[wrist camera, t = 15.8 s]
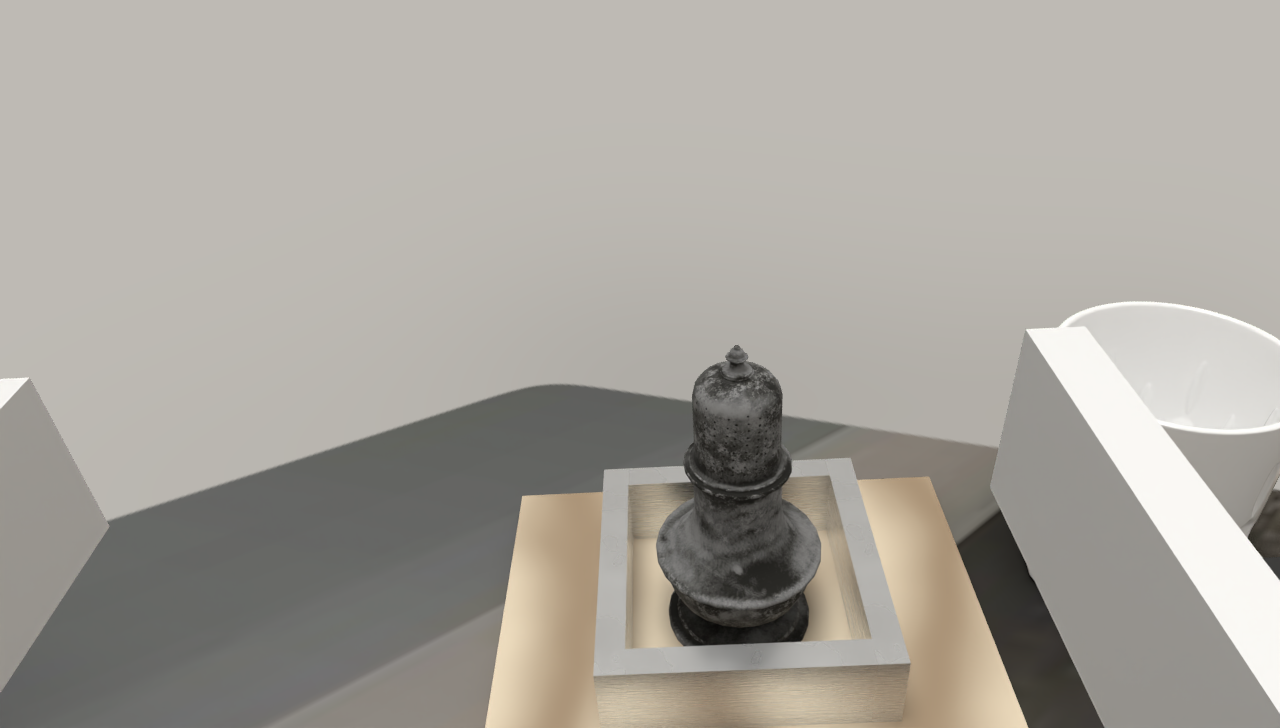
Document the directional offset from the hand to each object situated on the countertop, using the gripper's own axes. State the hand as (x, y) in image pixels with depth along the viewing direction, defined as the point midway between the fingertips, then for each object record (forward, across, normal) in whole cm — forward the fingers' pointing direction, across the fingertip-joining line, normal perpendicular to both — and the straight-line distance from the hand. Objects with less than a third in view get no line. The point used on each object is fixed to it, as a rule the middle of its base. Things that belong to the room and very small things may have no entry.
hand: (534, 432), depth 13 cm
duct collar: (+13, +4, -20) cm, 24 cm away
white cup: (+15, +19, -21) cm, 32 cm away
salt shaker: (+13, +4, -20) cm, 24 cm away
